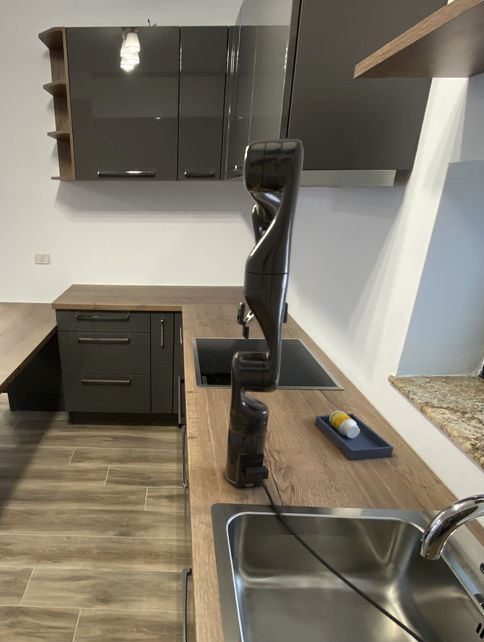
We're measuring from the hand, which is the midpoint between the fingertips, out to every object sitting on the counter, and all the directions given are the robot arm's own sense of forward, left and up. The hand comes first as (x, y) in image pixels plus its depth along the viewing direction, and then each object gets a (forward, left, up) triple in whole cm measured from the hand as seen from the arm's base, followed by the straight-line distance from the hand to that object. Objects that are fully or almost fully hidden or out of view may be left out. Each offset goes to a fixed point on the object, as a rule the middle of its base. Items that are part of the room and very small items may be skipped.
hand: (260, 337), depth 129 cm
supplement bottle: (-6, -25, -25) cm, 36 cm away
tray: (-14, -26, -28) cm, 40 cm away
